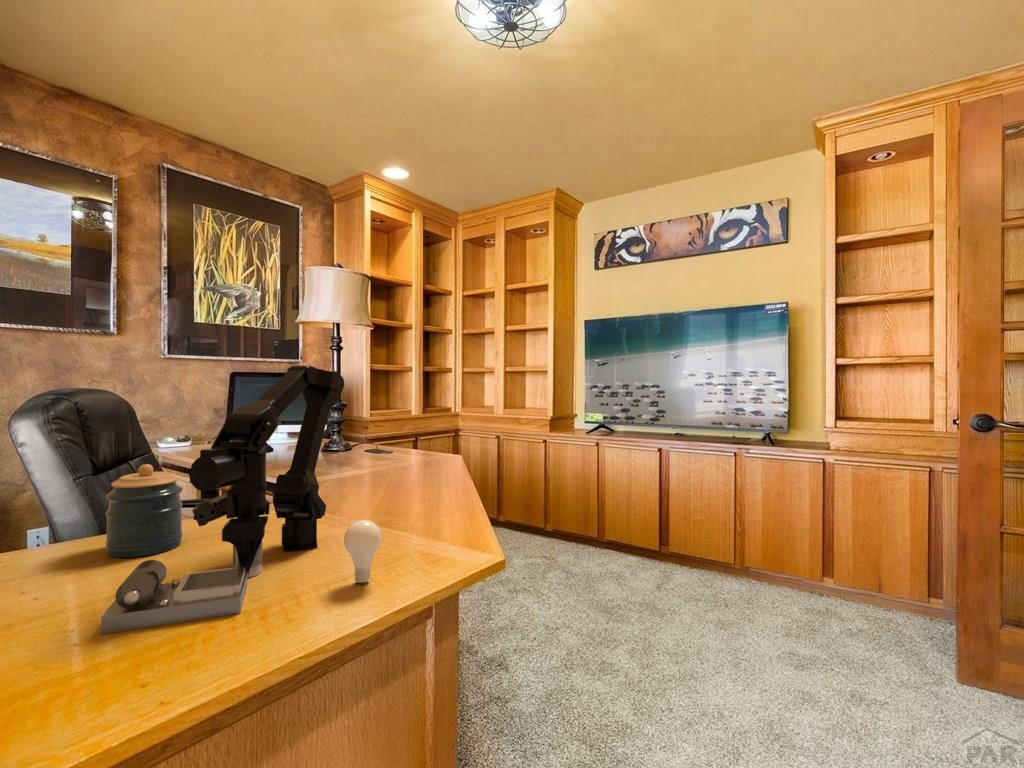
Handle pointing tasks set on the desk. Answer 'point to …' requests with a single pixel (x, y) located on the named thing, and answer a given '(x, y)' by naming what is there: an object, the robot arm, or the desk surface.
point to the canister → (144, 514)
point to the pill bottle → (256, 564)
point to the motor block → (173, 597)
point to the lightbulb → (362, 547)
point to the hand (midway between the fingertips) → (247, 564)
